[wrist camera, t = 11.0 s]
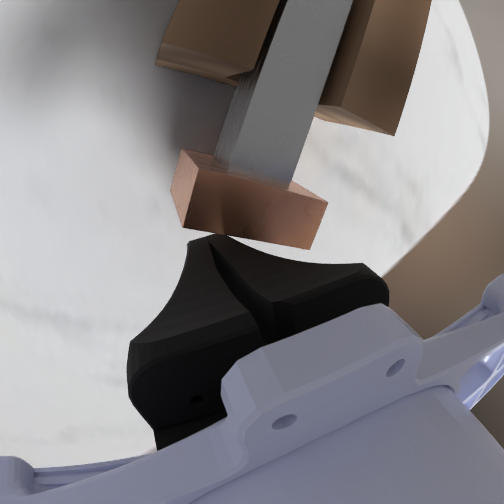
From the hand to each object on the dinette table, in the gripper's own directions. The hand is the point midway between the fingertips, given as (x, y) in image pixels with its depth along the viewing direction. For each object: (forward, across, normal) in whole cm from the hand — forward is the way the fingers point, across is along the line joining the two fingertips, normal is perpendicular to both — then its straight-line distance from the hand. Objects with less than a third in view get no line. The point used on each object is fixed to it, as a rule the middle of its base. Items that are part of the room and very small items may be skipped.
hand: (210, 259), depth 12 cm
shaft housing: (+2, -5, -9) cm, 11 cm away
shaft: (+1, -3, -6) cm, 7 cm away
